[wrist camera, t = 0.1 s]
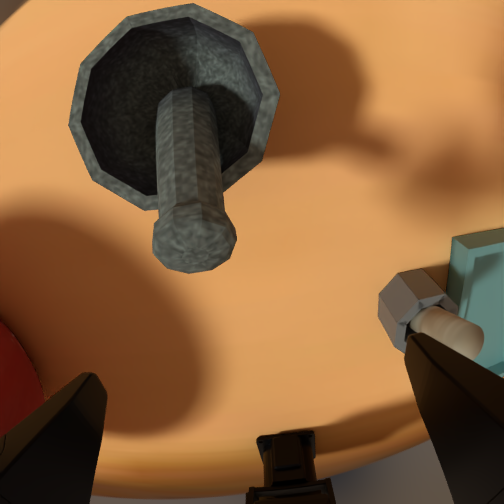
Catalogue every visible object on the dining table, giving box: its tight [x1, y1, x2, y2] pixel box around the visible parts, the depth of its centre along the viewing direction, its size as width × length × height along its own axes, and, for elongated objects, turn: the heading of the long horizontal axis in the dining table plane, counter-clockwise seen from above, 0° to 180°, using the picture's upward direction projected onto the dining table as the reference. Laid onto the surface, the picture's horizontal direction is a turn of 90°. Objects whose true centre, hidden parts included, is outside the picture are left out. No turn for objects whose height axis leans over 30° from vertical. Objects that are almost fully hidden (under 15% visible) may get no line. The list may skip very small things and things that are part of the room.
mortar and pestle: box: [68, 3, 280, 274], centre depth 13 cm, size 11×9×12 cm
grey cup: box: [378, 269, 459, 353], centre depth 23 cm, size 5×5×4 cm
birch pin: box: [406, 305, 484, 360], centre depth 19 cm, size 5×2×9 cm, turn 9°
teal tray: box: [446, 228, 504, 377], centre depth 24 cm, size 18×12×2 cm, turn 9°
